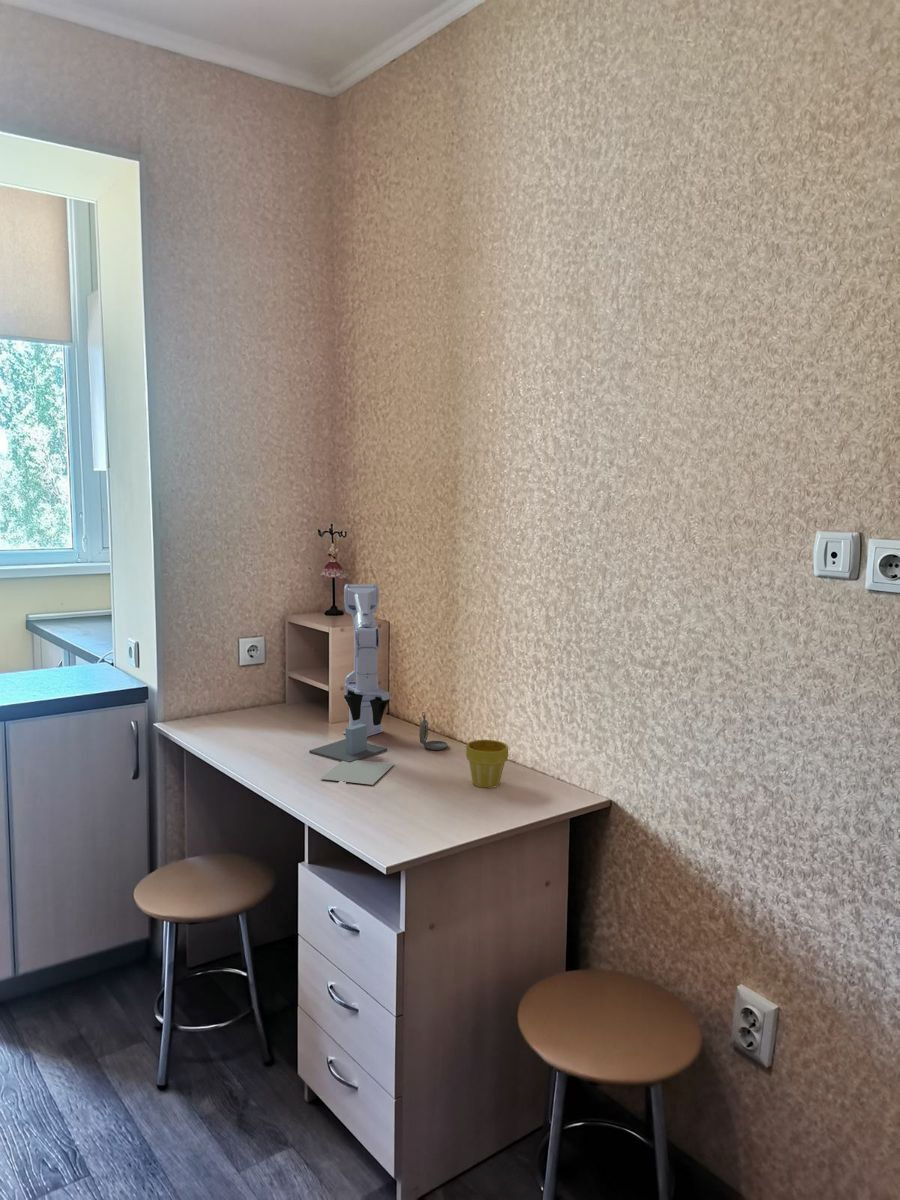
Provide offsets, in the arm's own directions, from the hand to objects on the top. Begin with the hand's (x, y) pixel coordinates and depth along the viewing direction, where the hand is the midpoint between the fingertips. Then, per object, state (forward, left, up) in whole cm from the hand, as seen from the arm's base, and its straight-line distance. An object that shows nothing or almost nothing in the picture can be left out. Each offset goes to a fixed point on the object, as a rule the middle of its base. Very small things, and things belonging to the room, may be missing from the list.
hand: (366, 722), depth 232 cm
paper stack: (+13, +13, -10) cm, 21 cm away
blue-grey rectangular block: (0, -4, -9) cm, 10 cm away
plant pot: (-3, +37, -10) cm, 39 cm away
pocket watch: (-18, +8, -10) cm, 22 cm away
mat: (0, -7, -10) cm, 12 cm away
